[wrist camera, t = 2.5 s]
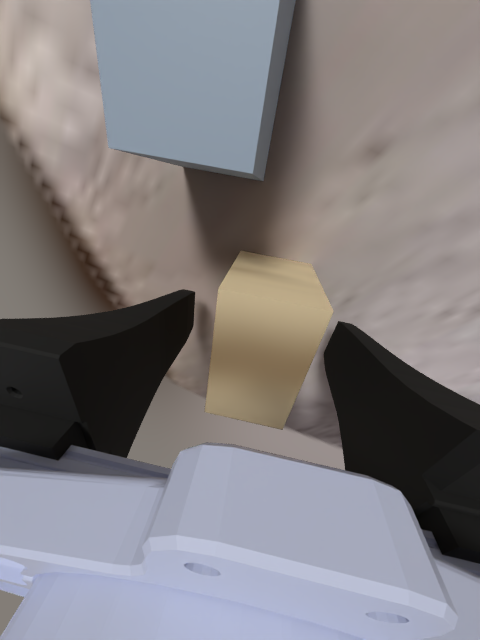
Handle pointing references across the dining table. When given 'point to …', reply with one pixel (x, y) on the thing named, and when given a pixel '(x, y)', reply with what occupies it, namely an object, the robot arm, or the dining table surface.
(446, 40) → the dining table surface
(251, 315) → the oak brick
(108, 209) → the dining table surface
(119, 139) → the slate-blue brick
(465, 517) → the robot arm
